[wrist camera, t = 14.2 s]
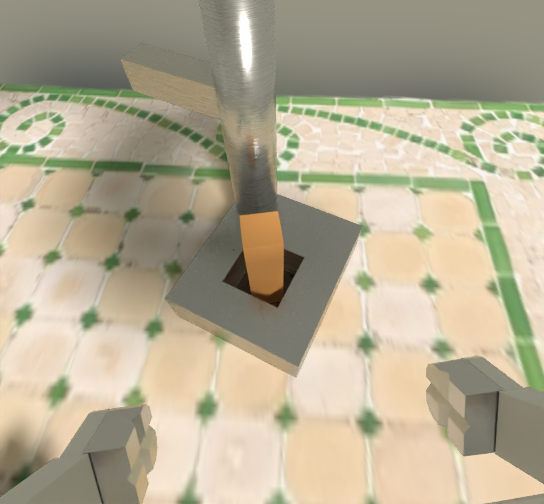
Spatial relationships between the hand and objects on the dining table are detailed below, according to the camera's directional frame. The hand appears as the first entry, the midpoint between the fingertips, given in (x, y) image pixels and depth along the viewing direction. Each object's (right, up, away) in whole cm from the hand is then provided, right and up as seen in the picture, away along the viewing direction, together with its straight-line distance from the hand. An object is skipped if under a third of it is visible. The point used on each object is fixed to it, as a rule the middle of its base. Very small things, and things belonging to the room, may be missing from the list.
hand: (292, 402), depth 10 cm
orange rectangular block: (-1, +1, +22) cm, 22 cm away
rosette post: (-4, +3, +24) cm, 24 cm away
